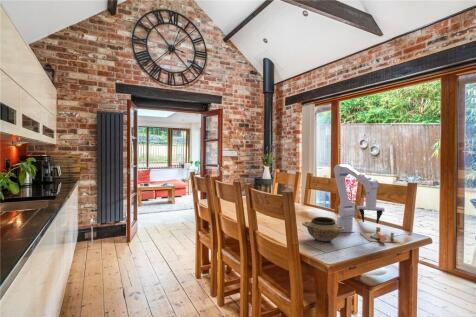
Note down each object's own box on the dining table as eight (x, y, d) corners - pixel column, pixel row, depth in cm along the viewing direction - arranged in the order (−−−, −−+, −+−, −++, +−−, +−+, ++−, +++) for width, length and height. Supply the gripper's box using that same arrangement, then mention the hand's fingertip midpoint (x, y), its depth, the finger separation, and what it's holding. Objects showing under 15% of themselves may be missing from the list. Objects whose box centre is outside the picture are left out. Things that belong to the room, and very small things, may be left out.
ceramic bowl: (298, 244, 163) (296, 221, 159) (309, 230, 176) (307, 208, 173) (340, 254, 148) (339, 229, 145) (349, 238, 162) (348, 214, 158)
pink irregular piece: (368, 234, 173) (368, 227, 173) (384, 235, 171) (384, 228, 171) (374, 241, 158) (374, 234, 158) (391, 243, 156) (391, 235, 156)
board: (369, 241, 161) (369, 230, 160) (359, 233, 176) (360, 223, 175) (397, 242, 160) (398, 231, 159) (385, 234, 175) (386, 224, 174)
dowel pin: (391, 240, 163) (391, 233, 163) (389, 239, 164) (390, 232, 164) (394, 240, 163) (394, 233, 162) (392, 239, 164) (392, 232, 164)
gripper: (358, 200, 162) (357, 222, 163) (385, 202, 157) (385, 225, 158) (357, 198, 169) (356, 220, 169) (383, 199, 164) (382, 222, 165)
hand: (370, 222), depth 164 cm, fingers open, 7 cm apart
